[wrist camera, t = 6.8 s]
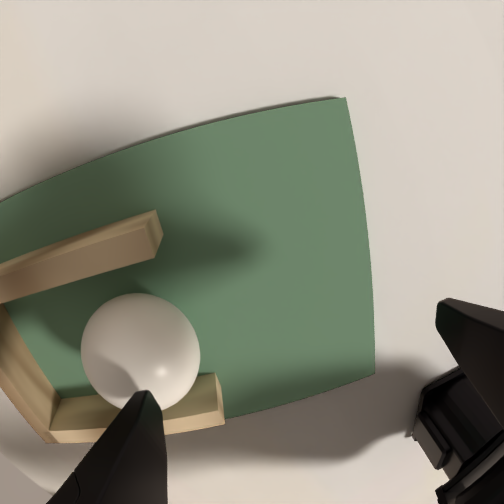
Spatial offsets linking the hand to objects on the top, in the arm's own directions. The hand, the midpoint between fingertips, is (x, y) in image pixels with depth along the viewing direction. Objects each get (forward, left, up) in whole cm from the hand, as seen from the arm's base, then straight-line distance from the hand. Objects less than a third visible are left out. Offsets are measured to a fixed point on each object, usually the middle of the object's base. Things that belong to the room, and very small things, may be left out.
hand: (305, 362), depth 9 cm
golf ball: (+5, 0, -3) cm, 6 cm away
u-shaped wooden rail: (+9, 0, -6) cm, 11 cm away
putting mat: (+4, 0, -6) cm, 7 cm away
